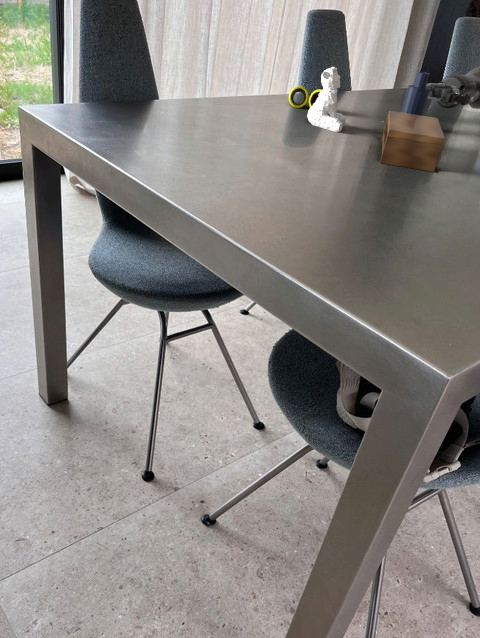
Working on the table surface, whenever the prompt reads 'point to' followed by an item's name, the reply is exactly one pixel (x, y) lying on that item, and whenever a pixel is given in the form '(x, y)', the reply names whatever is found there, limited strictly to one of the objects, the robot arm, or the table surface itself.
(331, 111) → the seated beast figurine
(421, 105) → the bottle
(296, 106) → the opera glasses
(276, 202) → the table surface
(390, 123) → the wooden block
